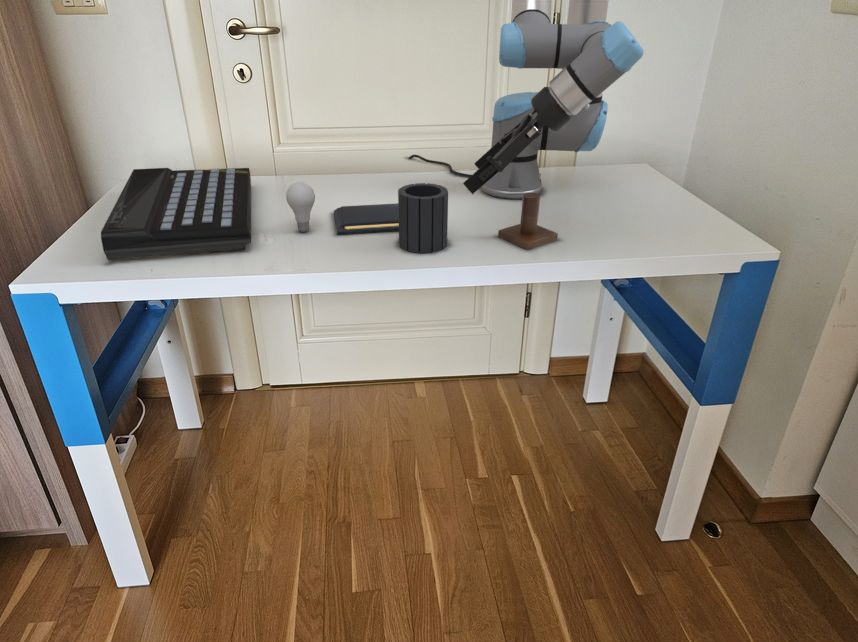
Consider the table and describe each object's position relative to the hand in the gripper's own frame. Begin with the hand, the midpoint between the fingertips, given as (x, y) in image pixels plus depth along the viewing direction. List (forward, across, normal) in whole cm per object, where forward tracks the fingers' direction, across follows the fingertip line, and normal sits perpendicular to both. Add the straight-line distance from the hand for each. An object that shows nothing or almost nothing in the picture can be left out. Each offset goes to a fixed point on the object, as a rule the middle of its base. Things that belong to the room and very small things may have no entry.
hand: (473, 178), depth 128 cm
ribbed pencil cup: (+18, 0, -3) cm, 18 cm away
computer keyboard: (+57, +2, +36) cm, 67 cm away
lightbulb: (+37, +1, +16) cm, 40 cm away
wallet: (+27, +11, +6) cm, 30 cm away
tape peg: (+3, +8, -18) cm, 20 cm away
